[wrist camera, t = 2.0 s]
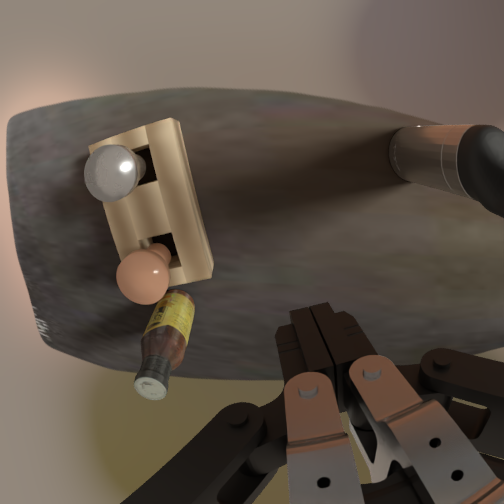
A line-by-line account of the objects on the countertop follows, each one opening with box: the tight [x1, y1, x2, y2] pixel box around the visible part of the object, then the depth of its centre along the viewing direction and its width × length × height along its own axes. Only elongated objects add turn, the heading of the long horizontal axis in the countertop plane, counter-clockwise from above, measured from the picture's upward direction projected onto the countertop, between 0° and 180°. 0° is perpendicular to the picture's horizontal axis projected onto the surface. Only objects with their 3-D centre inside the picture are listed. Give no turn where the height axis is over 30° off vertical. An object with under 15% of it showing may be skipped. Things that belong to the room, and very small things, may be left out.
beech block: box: [89, 118, 214, 287], centre depth 41 cm, size 12×22×6 cm, turn 12°
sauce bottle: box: [134, 289, 195, 400], centre depth 40 cm, size 6×6×20 cm
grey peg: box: [84, 144, 146, 202], centre depth 31 cm, size 6×6×8 cm
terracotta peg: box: [116, 243, 171, 305], centre depth 35 cm, size 6×6×8 cm
